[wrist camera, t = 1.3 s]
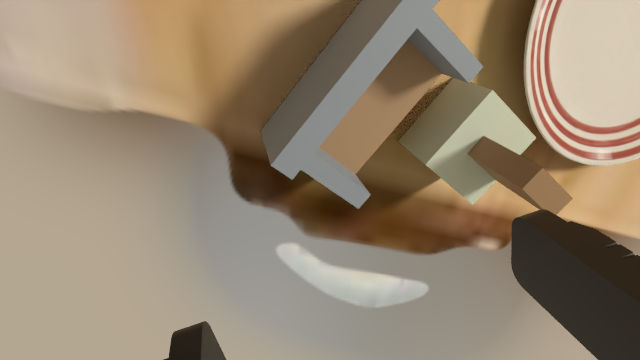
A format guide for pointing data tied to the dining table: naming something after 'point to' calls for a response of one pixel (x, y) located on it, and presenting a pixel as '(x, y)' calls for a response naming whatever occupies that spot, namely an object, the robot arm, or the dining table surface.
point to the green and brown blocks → (480, 146)
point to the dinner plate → (585, 78)
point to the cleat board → (363, 91)
